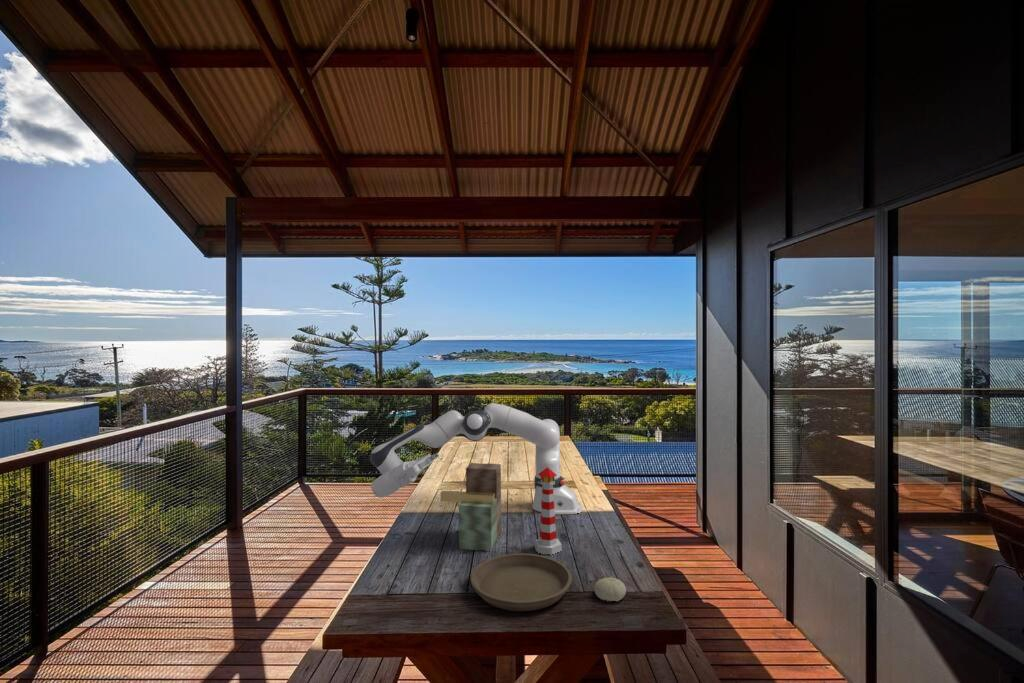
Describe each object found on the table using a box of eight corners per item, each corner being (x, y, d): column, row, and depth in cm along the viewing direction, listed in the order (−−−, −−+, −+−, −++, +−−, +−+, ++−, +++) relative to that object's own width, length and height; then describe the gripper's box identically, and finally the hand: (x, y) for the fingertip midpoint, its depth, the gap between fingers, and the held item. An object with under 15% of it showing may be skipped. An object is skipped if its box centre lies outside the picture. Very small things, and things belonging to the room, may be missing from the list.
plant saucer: (540, 628, 137) (540, 611, 137) (449, 597, 154) (449, 582, 154) (588, 581, 164) (588, 566, 164) (506, 559, 180) (505, 546, 180)
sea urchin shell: (588, 583, 158) (606, 564, 158) (606, 600, 158) (624, 581, 159) (595, 598, 149) (614, 577, 149) (614, 616, 149) (633, 596, 150)
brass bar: (494, 501, 192) (494, 493, 192) (492, 503, 189) (492, 495, 189) (443, 498, 196) (442, 490, 196) (440, 501, 193) (440, 493, 193)
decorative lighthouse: (564, 546, 190) (564, 465, 189) (558, 556, 181) (558, 471, 181) (537, 542, 193) (537, 463, 193) (530, 552, 185) (530, 468, 184)
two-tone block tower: (501, 532, 204) (500, 464, 203) (491, 551, 186) (490, 476, 186) (471, 530, 206) (471, 463, 205) (459, 548, 188) (458, 475, 188)
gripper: (392, 473, 202) (421, 456, 200) (411, 460, 222) (438, 445, 220) (400, 487, 202) (429, 470, 200) (418, 473, 222) (445, 458, 220)
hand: (434, 457), depth 210 cm, fingers open, 8 cm apart
